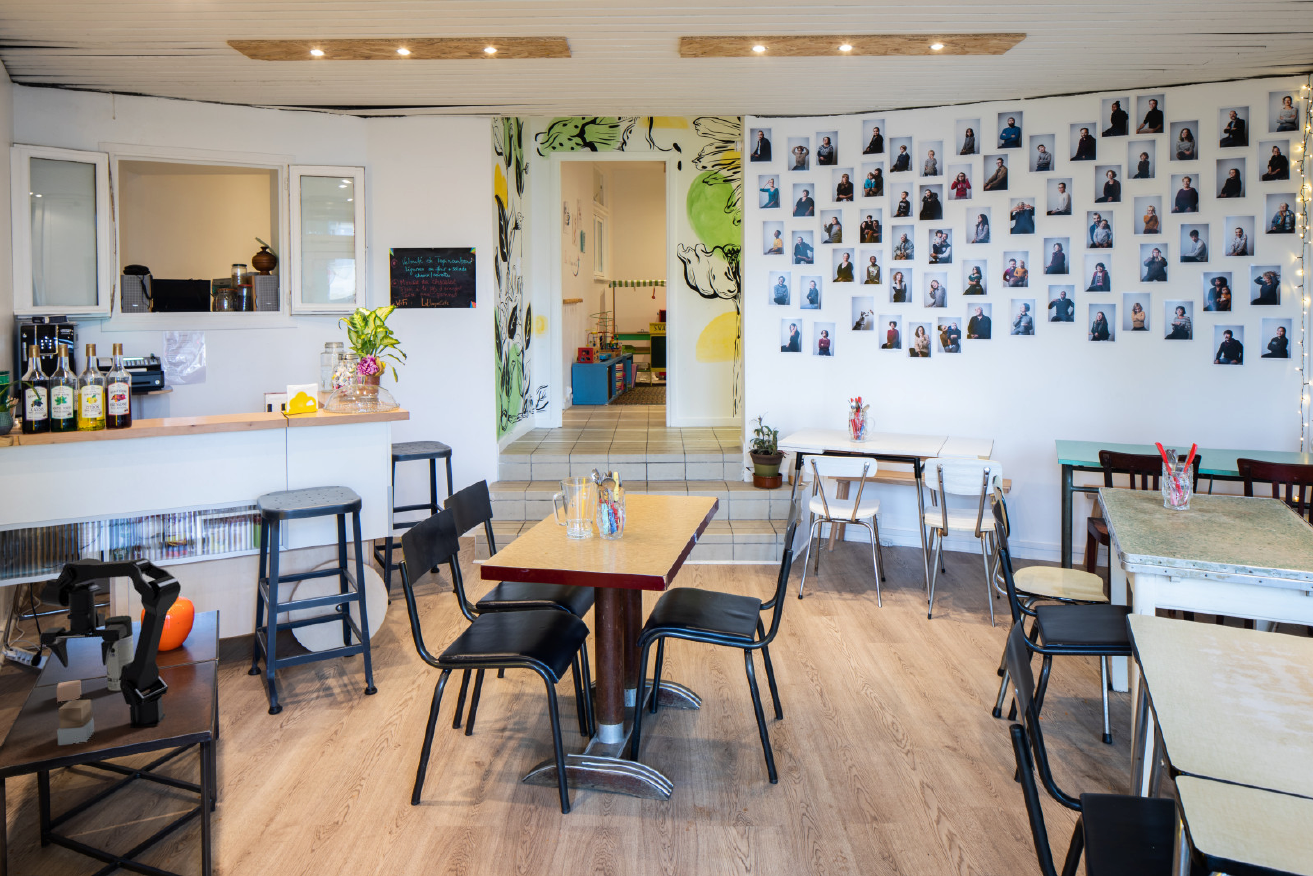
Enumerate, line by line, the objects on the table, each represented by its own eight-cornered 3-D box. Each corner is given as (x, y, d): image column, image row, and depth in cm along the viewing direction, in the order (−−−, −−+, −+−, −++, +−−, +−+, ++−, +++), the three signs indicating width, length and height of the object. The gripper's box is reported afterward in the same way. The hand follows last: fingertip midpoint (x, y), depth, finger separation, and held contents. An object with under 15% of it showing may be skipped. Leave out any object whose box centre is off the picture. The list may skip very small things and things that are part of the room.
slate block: (94, 733, 227) (93, 717, 227) (86, 743, 222) (85, 727, 221) (67, 735, 226) (66, 720, 225) (58, 746, 220) (57, 730, 220)
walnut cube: (92, 718, 226) (90, 699, 226) (82, 727, 221) (80, 707, 221) (70, 720, 225) (69, 700, 225) (60, 728, 220) (58, 708, 220)
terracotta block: (81, 693, 252) (80, 679, 251) (79, 700, 247) (78, 686, 247) (59, 697, 249) (58, 683, 249) (57, 703, 245) (56, 689, 244)
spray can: (110, 684, 258) (106, 616, 256) (137, 681, 260) (133, 613, 258) (105, 693, 252) (101, 623, 249) (133, 690, 254) (129, 620, 252)
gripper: (133, 597, 244) (136, 653, 246) (56, 600, 241) (60, 657, 242) (116, 609, 233) (120, 668, 235) (36, 613, 230) (40, 672, 232)
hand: (85, 666), depth 236 cm, fingers open, 9 cm apart
